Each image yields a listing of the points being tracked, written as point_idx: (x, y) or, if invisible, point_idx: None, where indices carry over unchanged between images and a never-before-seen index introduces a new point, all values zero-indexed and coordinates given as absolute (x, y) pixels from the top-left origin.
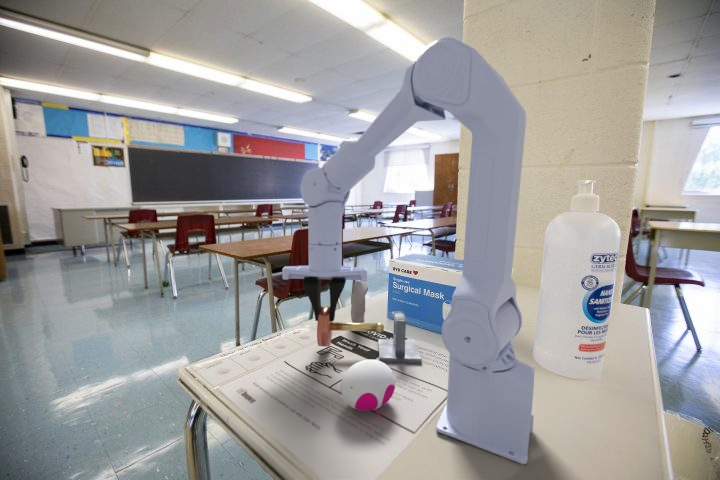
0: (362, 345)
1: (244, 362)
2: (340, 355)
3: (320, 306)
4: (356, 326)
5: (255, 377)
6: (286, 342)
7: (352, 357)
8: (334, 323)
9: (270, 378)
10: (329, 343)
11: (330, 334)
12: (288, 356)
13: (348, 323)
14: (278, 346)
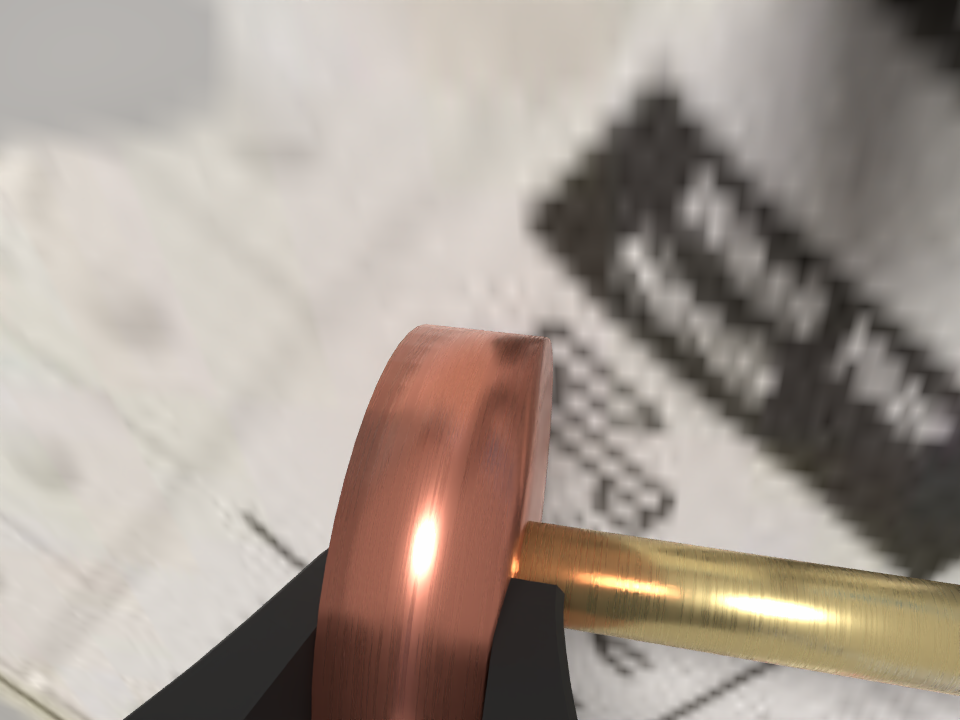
0: (894, 334)
1: (18, 503)
2: (646, 488)
3: (303, 684)
4: (858, 678)
5: (161, 643)
6: (143, 241)
7: (748, 526)
8: (569, 626)
9: None
10: (540, 519)
11: (538, 486)
12: (248, 463)
13: (757, 656)
14: (113, 311)
